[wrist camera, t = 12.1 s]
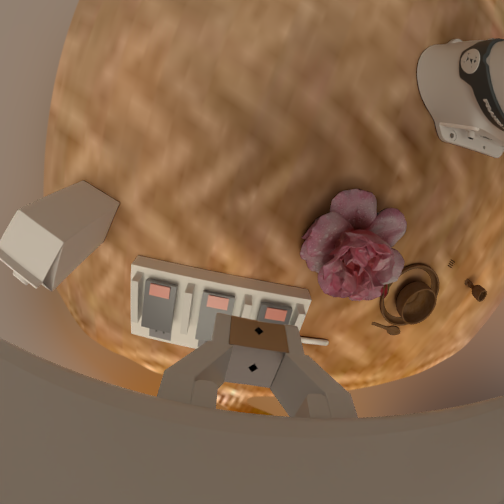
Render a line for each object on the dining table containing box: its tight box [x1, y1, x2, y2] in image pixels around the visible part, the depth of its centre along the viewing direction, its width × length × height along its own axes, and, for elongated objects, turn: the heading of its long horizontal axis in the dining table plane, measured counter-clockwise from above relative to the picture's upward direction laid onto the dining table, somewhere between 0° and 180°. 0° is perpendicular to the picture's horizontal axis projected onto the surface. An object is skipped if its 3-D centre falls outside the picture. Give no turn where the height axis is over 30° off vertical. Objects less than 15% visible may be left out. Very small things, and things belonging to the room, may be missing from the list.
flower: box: [300, 189, 407, 301], centre depth 36 cm, size 15×15×10 cm
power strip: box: [131, 255, 329, 349], centre depth 43 cm, size 33×13×6 cm, turn 77°
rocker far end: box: [141, 278, 178, 333], centre depth 39 cm, size 4×7×2 cm, turn 167°
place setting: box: [372, 260, 487, 335], centre depth 43 cm, size 18×20×6 cm
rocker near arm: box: [256, 301, 293, 325], centre depth 40 cm, size 4×7×2 cm, turn 167°
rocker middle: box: [195, 290, 235, 341], centre depth 39 cm, size 4×7×2 cm, turn 167°
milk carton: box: [0, 181, 119, 291], centre depth 29 cm, size 7×7×19 cm
